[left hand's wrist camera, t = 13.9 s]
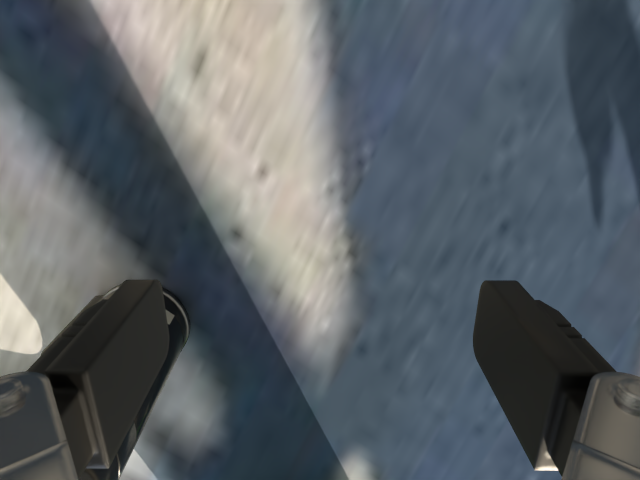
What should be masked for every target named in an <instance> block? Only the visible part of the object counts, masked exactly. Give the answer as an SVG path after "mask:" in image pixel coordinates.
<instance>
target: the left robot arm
mask: <svg viewBox="0 0 640 480" xmlns="http://www.w3.org/2000/svg"><path fill="white" fill-rule="evenodd" d="M189 333H190V321H189V317H188V314H187V312H186V310H185V308H184V306H183V305H182V303H181V302H180V301H179V300H178V299H177V298H176V297H175V296H174V295H173V294H172V293H170V292H169V291H167V290H165V289H164V288H162V286H161V283H160V282H159V281H158V280H126V281H124V282H123V283H122V284H121V285H119V286H116V287H115V288H113V289H111V290H110V291H109V292H108V293H107V294H106V295H104V296H95V297H94V298H93V299H92V300H91V301H90V302H89V303H88V305H87V306H86V307H85V308H84V309H83V310H82V311H81V312H80V313H79V314H78V315H77V316H76V317H75V318H74V319H73V320H72V321H71V322H70V323H69V324H68V325H67V326H66V327H65V328H64V330H63V331H62V332H61V333H60V334H59V335H58V336H57V337H56V338H55V339H54V340H53V341H52V342H51V343H50V344H49V345H48V346H47V347H46V348H45V349H44V350H43V352H42V353H41V357H40V358H39V359H38V360H37V361H36V362H35V363H34V364H33V365H32V366H31V367H30V368H29V369H28V370H27V371H26V372H18V373H13V374H8V375H5V376H2V377H0V480H119V478H120V476H121V474H122V472H123V470H124V468H125V466H126V464H127V462H128V460H129V457H130V455H131V453H132V451H133V449H134V447H135V445H136V443H137V441H138V439H139V437H140V434H141V432H142V430H143V428H144V426H145V424H146V422H147V420H148V418H149V416H150V414H151V412H152V410H153V407H154V405H155V403H156V401H157V399H158V397H159V395H160V393H161V391H162V389H163V387H164V385H165V383H166V381H167V378H168V376H169V374H170V372H171V370H172V368H173V366H174V364H175V362H176V360H177V358H178V356H179V354H180V352H181V351H182V349H183V347H184V345H185V344H186V341H187V339H188V337H189ZM473 348H474V353H475V357H476V359H477V361H478V363H479V365H480V367H481V369H482V371H483V373H484V375H485V377H486V379H487V380H488V382H489V384H490V386H491V388H492V390H493V392H494V394H495V396H496V398H497V399H498V401H499V403H500V405H501V407H502V409H503V411H504V413H505V415H506V417H507V418H508V420H509V422H510V424H511V426H512V428H513V430H514V432H515V434H516V436H517V437H518V439H519V441H520V443H521V445H522V447H523V449H524V451H525V453H526V455H527V456H528V458H529V460H530V462H531V464H532V466H533V468H534V470H558V471H559V472H560V474H561V476H562V480H640V377H638V376H635V375H632V374H627V373H622V372H616V371H615V370H614V369H613V368H612V366H611V365H610V364H609V363H608V362H607V361H606V360H605V359H604V358H603V357H602V356H601V355H600V354H599V353H598V352H597V351H596V350H595V349H594V348H593V347H592V346H591V345H590V344H589V342H588V341H587V340H586V339H585V338H582V335H581V334H580V333H579V332H578V331H577V330H576V329H575V328H574V327H571V324H570V323H569V322H568V321H567V320H566V318H565V317H564V316H563V315H562V314H561V313H560V312H559V311H557V310H555V309H554V308H552V307H550V306H549V305H547V304H545V303H543V302H542V301H540V300H534V299H533V298H532V297H531V296H530V294H529V293H528V292H527V291H526V290H525V289H524V288H523V287H522V286H521V284H520V283H519V282H517V281H484V282H483V283H482V285H481V288H480V293H479V300H478V306H477V313H476V319H475V326H474V332H473Z"/></svg>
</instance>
